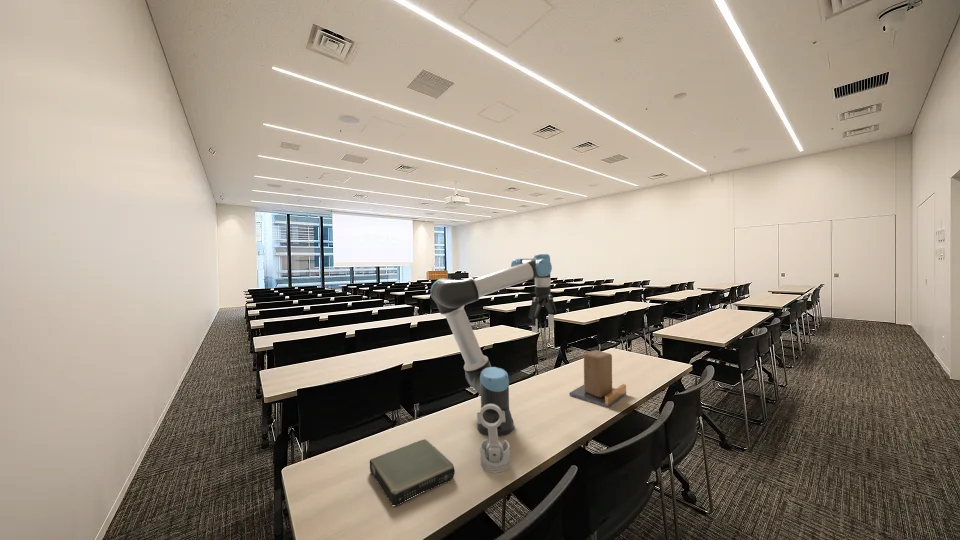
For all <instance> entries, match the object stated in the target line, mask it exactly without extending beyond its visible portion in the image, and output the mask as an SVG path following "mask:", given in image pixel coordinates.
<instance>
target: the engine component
mask: <svg viewBox="0 0 960 540" xmlns="http://www.w3.org/2000/svg"><path fill="white" fill-rule="evenodd" d="M487 409H494V410H496V411H497V412H498V414H499V416H500V418H499V420H498V421H497V422H495V423H488V422H486V421H485V420H484V418H483V412H484V411H485V410H487ZM476 418H477V421H478V424H482V425H483V426H484V427H486V428H488V436H487V437H488V439H486V438H485V439H483V440H482V441H480V443H479V446H480V447H479V448H480V450H479V452H480V453H479V454H480V455H479V456H480V467H481V468H482V469H483V470H484V471H486V472H488V471H489V473H492V472H499V473H503V472H505V471H507V470H508V469H509V468H510V466H509V465H510V464H511V461H510V460H511V459H510V458H511V455H510V453H511V452H510V443H509V442H508V441H507V440H506V439H504V440H503V443H502V442H501V441H499V437H498V433H497V427H498V426H500V424H501V423H502V422H505V412H504V411H502V410H501V409H500V407H498V406H497V405H495V404H486V405H484V406H483V407H482V408H481V407H480V410H479V412H477V413H476ZM507 468H508V469H507ZM502 471H503V472H502Z"/></svg>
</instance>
